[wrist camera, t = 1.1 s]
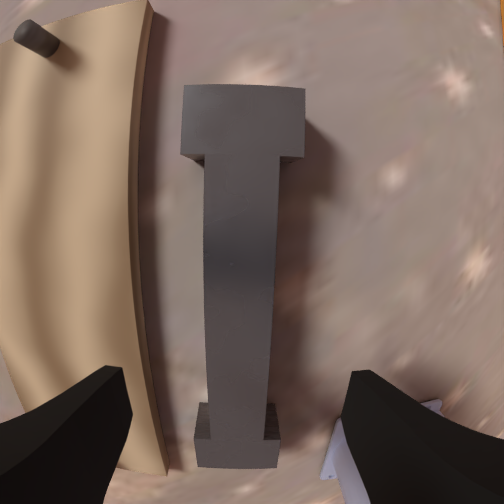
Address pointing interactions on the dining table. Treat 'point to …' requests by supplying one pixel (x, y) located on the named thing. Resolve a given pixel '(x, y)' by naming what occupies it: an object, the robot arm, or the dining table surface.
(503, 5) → the carrot
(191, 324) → the dining table surface
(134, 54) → the oak board
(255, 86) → the drawer pull handle
